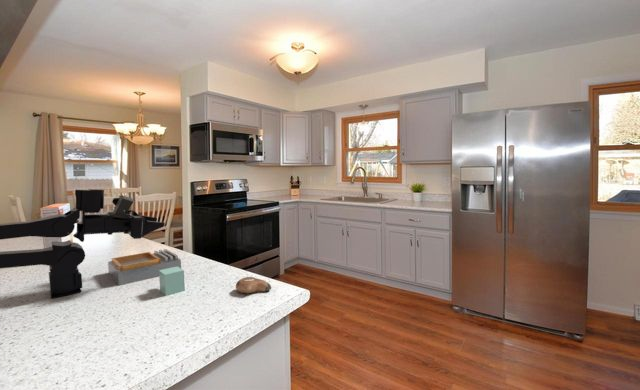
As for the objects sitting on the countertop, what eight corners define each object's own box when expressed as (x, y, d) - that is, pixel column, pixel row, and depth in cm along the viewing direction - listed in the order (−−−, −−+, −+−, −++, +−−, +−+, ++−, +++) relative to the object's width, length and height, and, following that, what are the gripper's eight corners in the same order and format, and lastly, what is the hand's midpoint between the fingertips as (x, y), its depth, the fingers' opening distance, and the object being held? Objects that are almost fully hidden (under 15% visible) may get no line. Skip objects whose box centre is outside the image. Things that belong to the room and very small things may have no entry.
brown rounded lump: (252, 303, 82) (273, 293, 88) (253, 288, 81) (274, 280, 88) (230, 291, 87) (252, 282, 94) (231, 277, 87) (253, 270, 93)
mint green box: (166, 296, 85) (164, 274, 84) (157, 288, 90) (156, 268, 89) (184, 291, 88) (183, 270, 88) (175, 284, 93) (174, 264, 93)
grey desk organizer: (118, 285, 92) (117, 268, 92) (108, 273, 103) (107, 258, 103) (181, 271, 105) (180, 256, 104) (166, 261, 116) (165, 248, 115)
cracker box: (56, 254, 127) (52, 203, 125) (74, 252, 130) (71, 202, 128) (43, 263, 114) (38, 207, 113) (64, 261, 117) (59, 206, 115)
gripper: (109, 200, 85) (170, 201, 95) (100, 193, 99) (154, 194, 109) (107, 241, 86) (168, 237, 96) (98, 228, 99) (152, 225, 110)
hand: (160, 221), depth 103 cm, fingers open, 9 cm apart
